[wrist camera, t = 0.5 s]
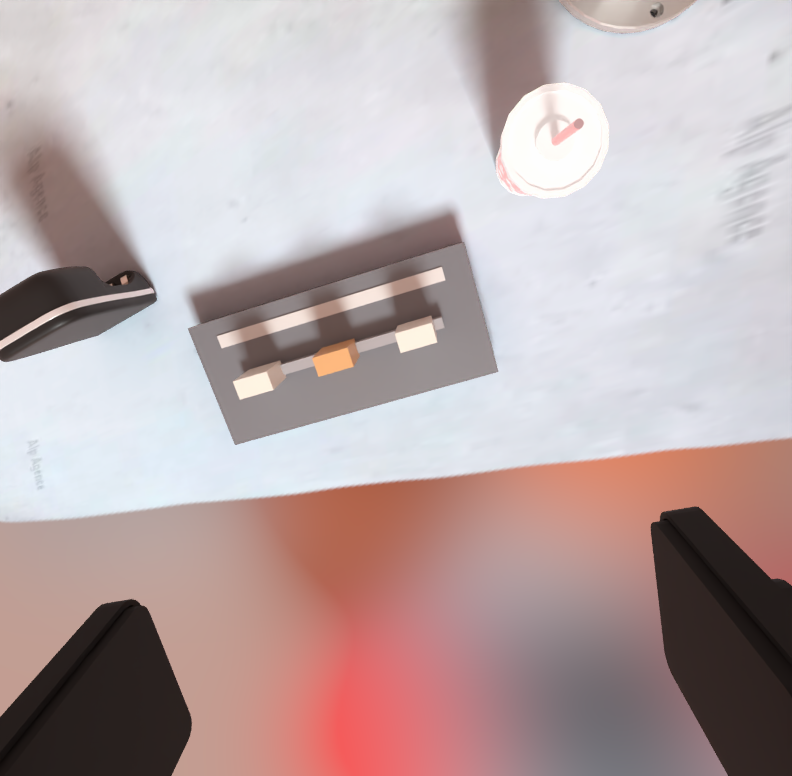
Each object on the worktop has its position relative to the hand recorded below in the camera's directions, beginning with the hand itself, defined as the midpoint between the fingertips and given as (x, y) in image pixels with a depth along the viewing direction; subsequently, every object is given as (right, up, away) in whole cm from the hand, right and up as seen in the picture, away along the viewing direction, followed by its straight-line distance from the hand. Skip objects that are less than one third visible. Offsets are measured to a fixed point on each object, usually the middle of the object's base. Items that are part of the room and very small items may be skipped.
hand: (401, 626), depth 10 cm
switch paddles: (-4, +7, +31) cm, 32 cm away
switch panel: (-4, +8, +34) cm, 35 cm away
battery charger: (-23, +12, +34) cm, 43 cm away
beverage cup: (+10, +21, +30) cm, 38 cm away
